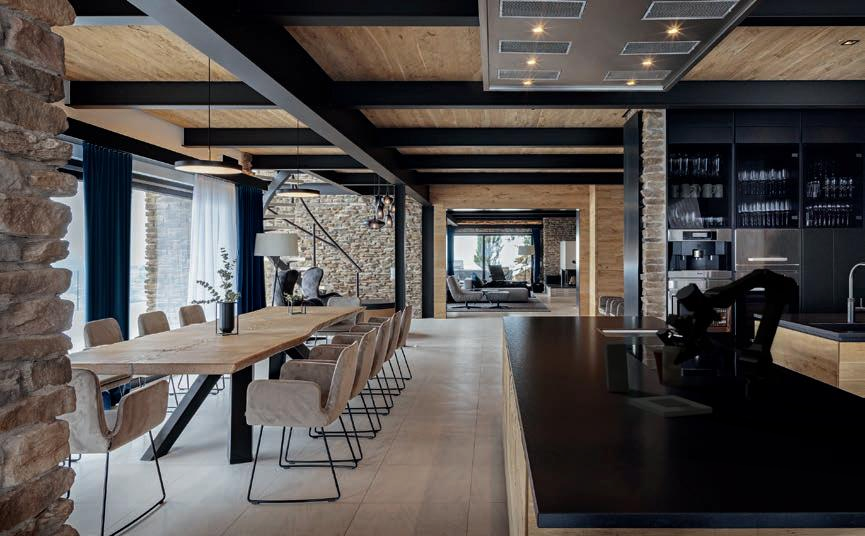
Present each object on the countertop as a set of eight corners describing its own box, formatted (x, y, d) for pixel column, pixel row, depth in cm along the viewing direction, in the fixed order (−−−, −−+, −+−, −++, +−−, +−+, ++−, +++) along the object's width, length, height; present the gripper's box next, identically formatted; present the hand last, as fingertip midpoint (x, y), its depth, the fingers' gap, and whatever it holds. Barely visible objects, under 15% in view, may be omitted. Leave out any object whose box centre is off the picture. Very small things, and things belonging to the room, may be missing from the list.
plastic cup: (685, 382, 206) (685, 348, 206) (686, 388, 196) (686, 352, 196) (652, 380, 210) (652, 346, 210) (651, 386, 200) (651, 351, 200)
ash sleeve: (684, 385, 168) (684, 347, 168) (676, 388, 165) (676, 349, 165) (667, 382, 172) (667, 345, 172) (659, 385, 168) (659, 347, 168)
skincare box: (629, 393, 189) (629, 344, 189) (606, 392, 191) (606, 343, 191) (626, 387, 198) (626, 340, 198) (604, 386, 199) (604, 340, 199)
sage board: (673, 400, 180) (673, 394, 179) (712, 413, 164) (712, 406, 164) (628, 403, 175) (628, 398, 175) (663, 417, 160) (663, 411, 160)
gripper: (660, 301, 178) (630, 339, 175) (707, 306, 161) (674, 348, 157) (681, 326, 181) (652, 364, 177) (730, 333, 163) (698, 375, 160)
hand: (667, 362), depth 168 cm, fingers closed on ash sleeve, 5 cm apart
